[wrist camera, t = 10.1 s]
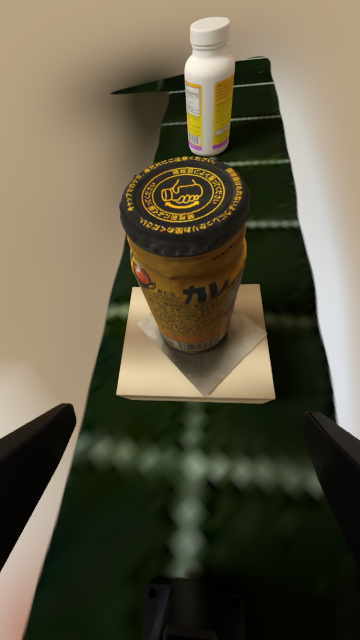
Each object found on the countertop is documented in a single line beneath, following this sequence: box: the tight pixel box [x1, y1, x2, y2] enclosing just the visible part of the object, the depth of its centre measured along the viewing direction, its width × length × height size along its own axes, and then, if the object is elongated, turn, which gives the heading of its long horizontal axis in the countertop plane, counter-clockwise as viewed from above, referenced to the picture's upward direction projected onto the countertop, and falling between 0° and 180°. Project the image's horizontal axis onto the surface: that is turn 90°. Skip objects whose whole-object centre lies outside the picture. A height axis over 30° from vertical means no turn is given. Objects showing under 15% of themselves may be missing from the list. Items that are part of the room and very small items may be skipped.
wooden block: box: [116, 284, 275, 403], centre depth 20 cm, size 10×12×4 cm
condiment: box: [119, 156, 267, 397], centre depth 13 cm, size 7×8×12 cm
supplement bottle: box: [185, 17, 235, 156], centre depth 32 cm, size 7×7×13 cm
